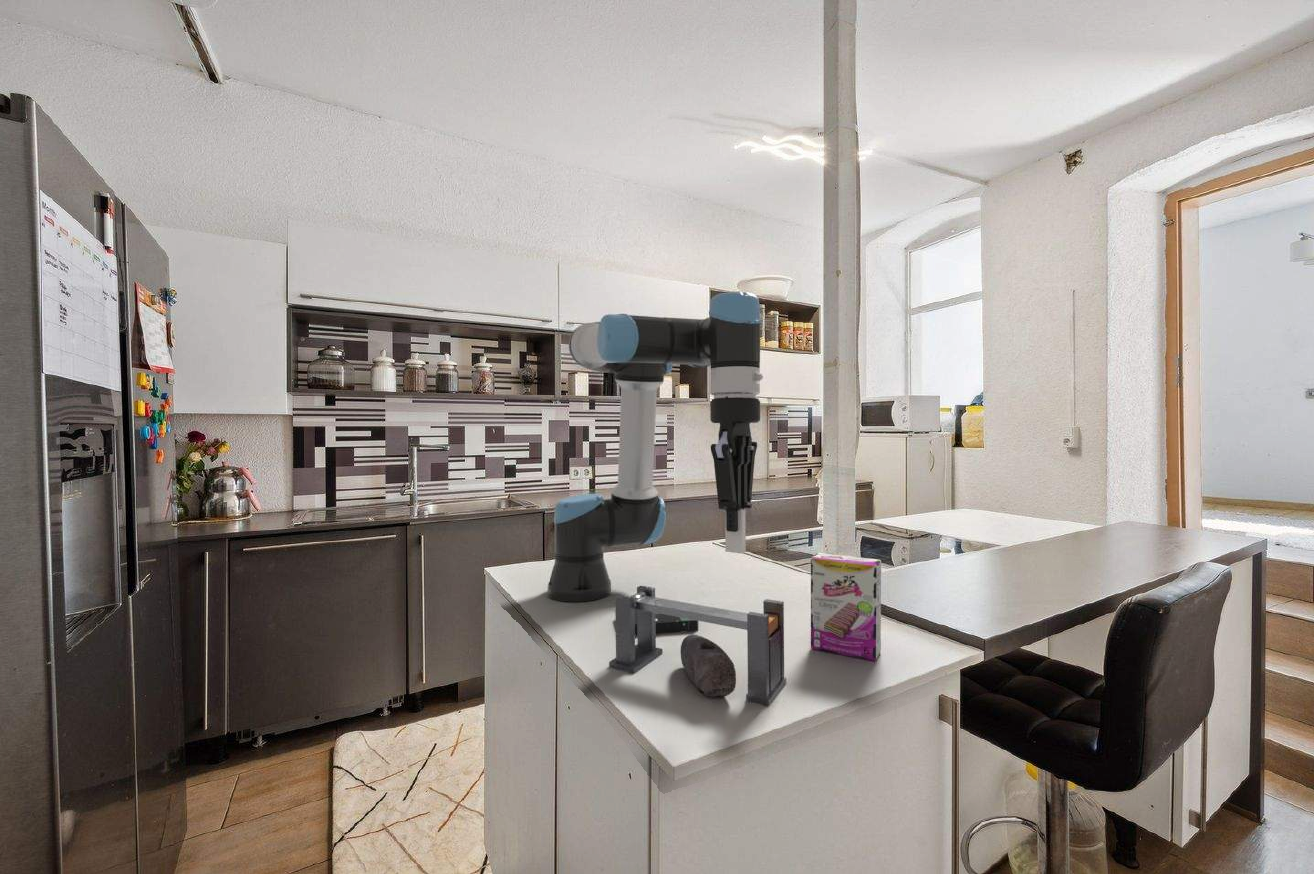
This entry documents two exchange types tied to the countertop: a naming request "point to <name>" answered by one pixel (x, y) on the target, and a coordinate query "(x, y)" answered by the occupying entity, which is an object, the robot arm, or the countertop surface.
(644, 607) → the grey long bar
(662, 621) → the disk drive
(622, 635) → the bracket
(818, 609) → the candy bar box
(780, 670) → the catch block
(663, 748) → the countertop surface
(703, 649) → the perforated stone tool
